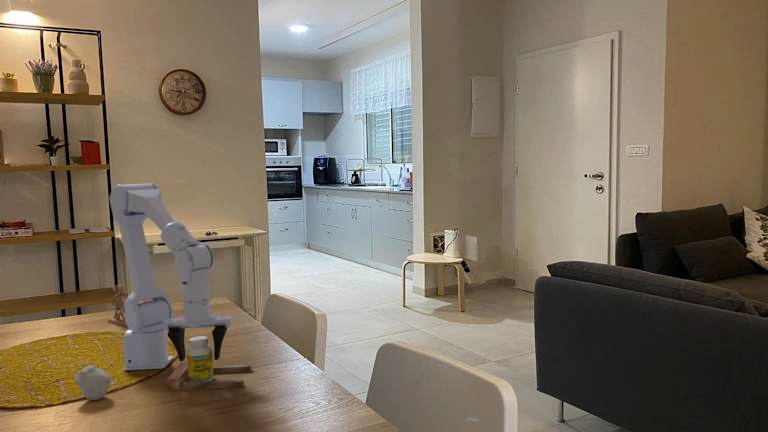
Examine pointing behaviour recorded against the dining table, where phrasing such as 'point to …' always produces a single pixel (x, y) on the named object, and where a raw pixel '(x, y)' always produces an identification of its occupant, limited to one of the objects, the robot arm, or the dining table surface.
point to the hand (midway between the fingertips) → (199, 359)
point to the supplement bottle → (199, 360)
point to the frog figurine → (93, 382)
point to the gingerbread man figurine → (118, 319)
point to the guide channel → (181, 375)
